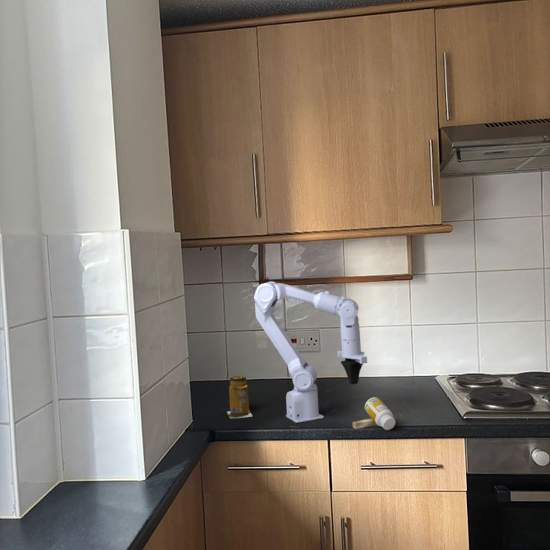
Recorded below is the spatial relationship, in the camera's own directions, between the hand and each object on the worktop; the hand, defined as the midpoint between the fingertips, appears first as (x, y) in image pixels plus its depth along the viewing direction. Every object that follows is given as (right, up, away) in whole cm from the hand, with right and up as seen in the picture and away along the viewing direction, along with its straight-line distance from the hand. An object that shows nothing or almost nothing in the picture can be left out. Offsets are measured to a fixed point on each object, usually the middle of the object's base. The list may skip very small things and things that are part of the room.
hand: (353, 383), depth 174 cm
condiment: (-35, -12, +11) cm, 39 cm away
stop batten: (+5, -10, -7) cm, 14 cm away
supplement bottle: (+5, -5, -5) cm, 9 cm away
